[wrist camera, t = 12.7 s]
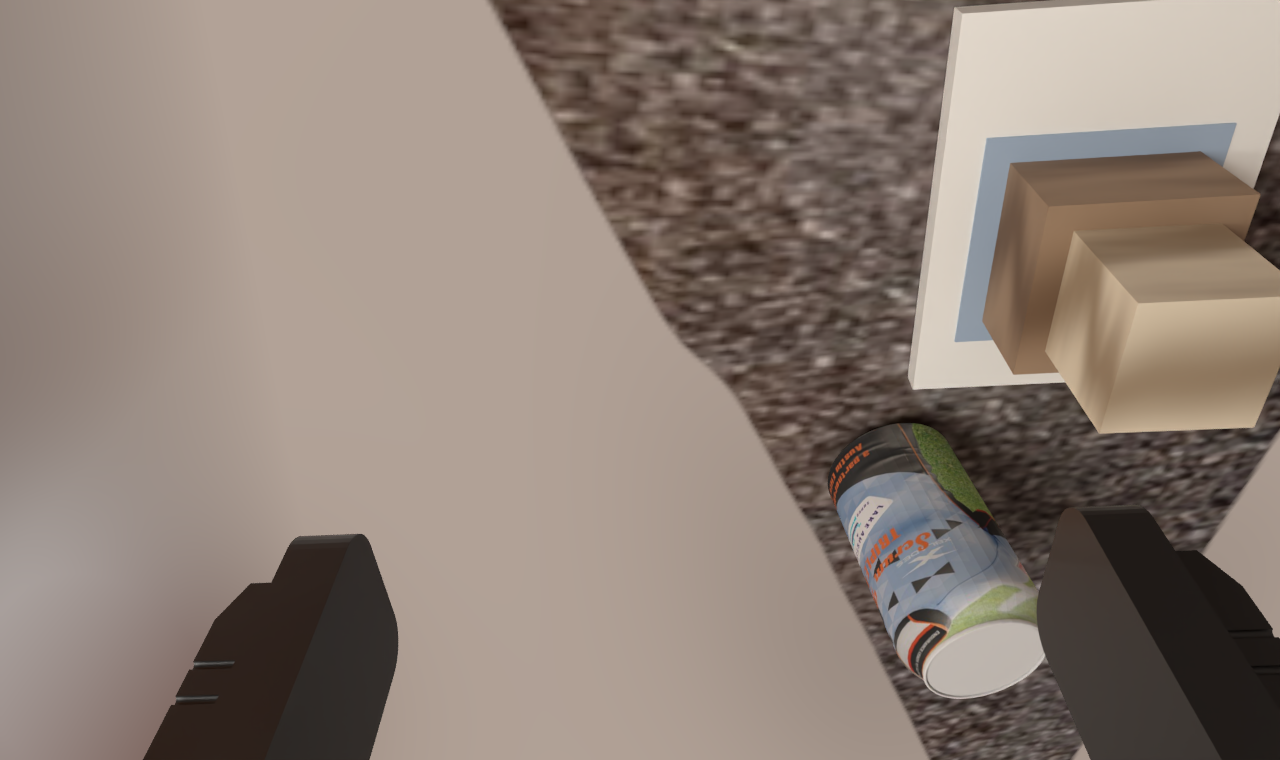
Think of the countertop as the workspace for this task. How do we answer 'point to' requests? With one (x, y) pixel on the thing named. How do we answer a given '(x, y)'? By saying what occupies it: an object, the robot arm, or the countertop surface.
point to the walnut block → (1090, 200)
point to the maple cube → (1167, 328)
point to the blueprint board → (1074, 131)
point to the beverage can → (936, 562)
